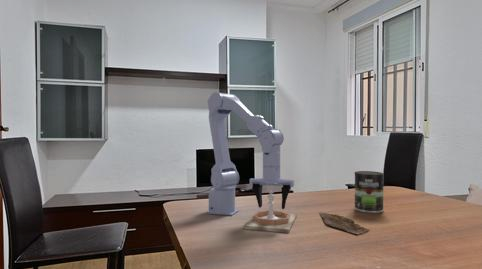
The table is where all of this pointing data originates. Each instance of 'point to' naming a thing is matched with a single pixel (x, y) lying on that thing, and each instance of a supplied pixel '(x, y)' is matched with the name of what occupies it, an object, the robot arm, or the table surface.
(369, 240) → the table surface
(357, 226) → the wooden fragment
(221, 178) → the robot arm
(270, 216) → the chess piece
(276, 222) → the ring collar
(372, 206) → the coffee can
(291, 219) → the birch board
